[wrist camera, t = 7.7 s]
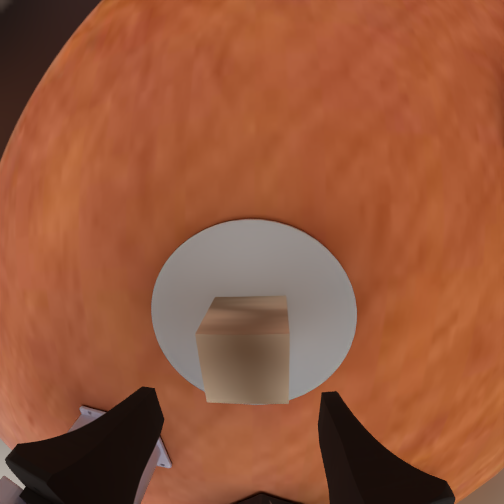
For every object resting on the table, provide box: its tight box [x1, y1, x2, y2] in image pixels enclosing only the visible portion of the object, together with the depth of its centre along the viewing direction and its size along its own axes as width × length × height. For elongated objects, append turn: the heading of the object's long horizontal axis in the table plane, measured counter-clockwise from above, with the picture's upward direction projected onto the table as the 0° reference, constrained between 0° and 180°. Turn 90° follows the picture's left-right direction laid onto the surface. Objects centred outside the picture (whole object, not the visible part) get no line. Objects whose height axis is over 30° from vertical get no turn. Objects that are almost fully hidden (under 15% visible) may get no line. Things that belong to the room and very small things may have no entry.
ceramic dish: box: [151, 219, 357, 405], centre depth 19 cm, size 14×14×1 cm
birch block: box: [195, 295, 290, 404], centre depth 16 cm, size 4×4×5 cm
